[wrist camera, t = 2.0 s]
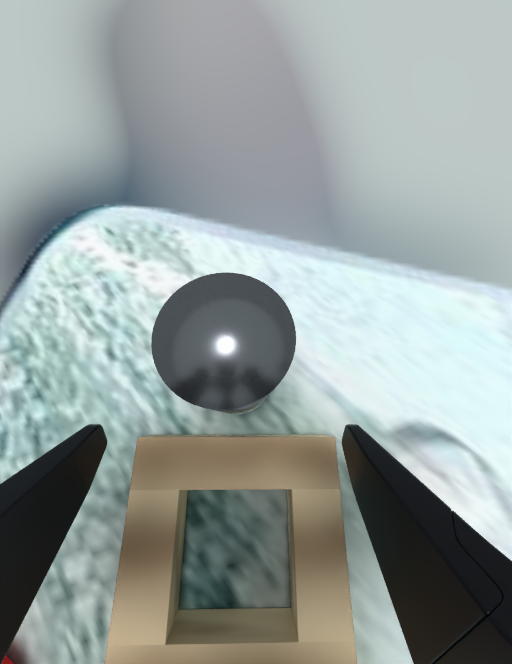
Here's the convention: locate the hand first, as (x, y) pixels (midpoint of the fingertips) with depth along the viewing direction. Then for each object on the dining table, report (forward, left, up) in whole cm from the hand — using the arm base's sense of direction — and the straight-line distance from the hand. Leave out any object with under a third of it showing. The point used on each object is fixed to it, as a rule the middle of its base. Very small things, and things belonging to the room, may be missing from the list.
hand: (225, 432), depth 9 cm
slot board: (-7, +2, -10) cm, 13 cm away
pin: (+3, -1, -10) cm, 11 cm away
